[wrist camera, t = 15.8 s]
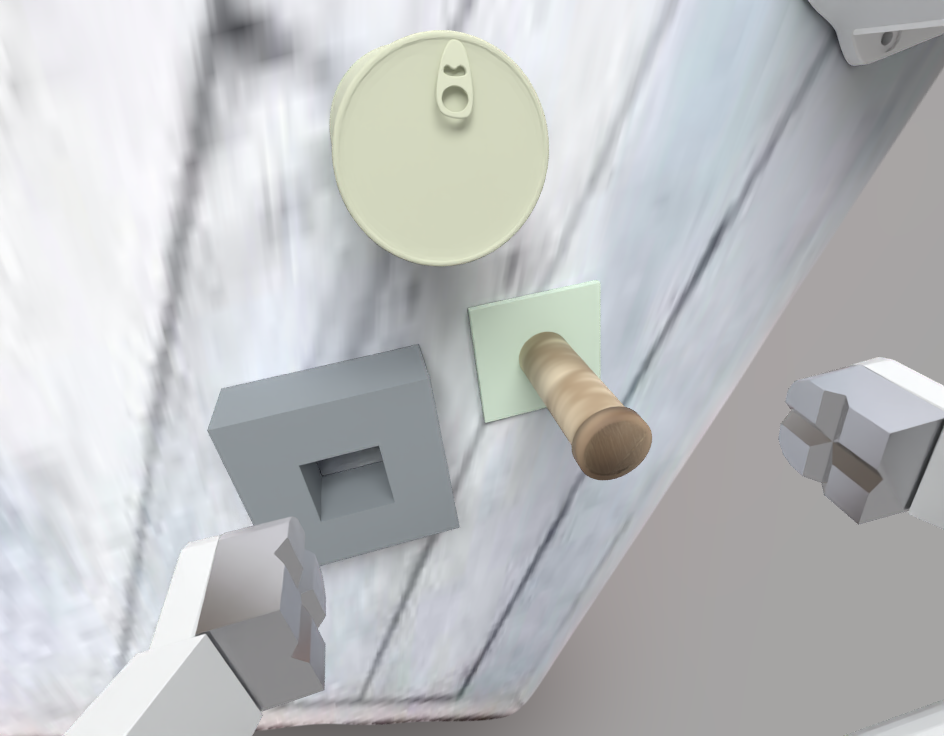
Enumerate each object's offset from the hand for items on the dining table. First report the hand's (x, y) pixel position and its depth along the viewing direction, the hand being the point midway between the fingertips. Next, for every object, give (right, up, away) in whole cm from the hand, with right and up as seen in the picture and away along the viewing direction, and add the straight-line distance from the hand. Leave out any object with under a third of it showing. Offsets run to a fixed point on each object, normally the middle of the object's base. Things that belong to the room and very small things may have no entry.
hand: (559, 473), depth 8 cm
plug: (+4, +3, +32) cm, 33 cm away
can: (-5, +16, +23) cm, 29 cm away
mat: (+4, +3, +33) cm, 33 cm away
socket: (-11, -4, +33) cm, 35 cm away
